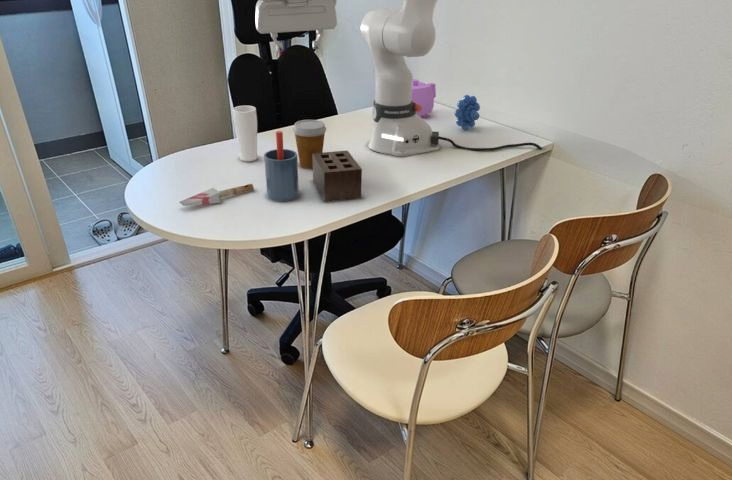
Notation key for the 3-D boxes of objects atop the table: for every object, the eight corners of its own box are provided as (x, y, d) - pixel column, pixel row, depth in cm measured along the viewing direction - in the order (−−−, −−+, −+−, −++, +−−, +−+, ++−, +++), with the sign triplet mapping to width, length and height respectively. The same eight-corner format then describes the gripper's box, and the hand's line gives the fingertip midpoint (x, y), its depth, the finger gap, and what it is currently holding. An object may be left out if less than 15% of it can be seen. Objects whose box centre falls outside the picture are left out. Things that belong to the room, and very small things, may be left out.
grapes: (462, 136, 186) (467, 100, 179) (448, 131, 191) (452, 95, 184) (486, 129, 192) (491, 94, 185) (471, 124, 196) (476, 90, 190)
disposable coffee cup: (331, 161, 166) (330, 121, 160) (320, 172, 159) (319, 131, 152) (301, 157, 168) (300, 117, 162) (289, 168, 161) (287, 127, 154)
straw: (285, 190, 146) (281, 130, 137) (286, 193, 145) (282, 132, 136) (279, 191, 146) (275, 131, 137) (280, 193, 144) (276, 133, 136)
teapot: (422, 107, 214) (425, 73, 207) (443, 115, 205) (447, 80, 198) (379, 115, 205) (381, 79, 198) (399, 124, 196) (402, 87, 189)
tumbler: (295, 187, 150) (293, 147, 144) (301, 199, 143) (299, 158, 137) (265, 190, 148) (262, 150, 142) (269, 203, 141) (266, 161, 135)
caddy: (347, 177, 156) (347, 150, 151) (361, 198, 145) (362, 169, 140) (313, 181, 153) (312, 153, 149) (324, 202, 142) (324, 172, 138)
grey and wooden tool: (177, 195, 137) (248, 179, 148) (178, 206, 139) (248, 189, 149) (183, 201, 135) (255, 184, 146) (185, 211, 136) (256, 194, 147)
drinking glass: (255, 163, 164) (251, 112, 155) (234, 162, 165) (228, 111, 156) (263, 155, 169) (259, 106, 161) (242, 154, 170) (237, 104, 162)
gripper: (332, -15, 139) (334, 44, 147) (251, -11, 134) (257, 50, 142) (339, -12, 134) (340, 49, 142) (254, -8, 129) (260, 55, 137)
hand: (298, 50), depth 142 cm, fingers open, 8 cm apart
